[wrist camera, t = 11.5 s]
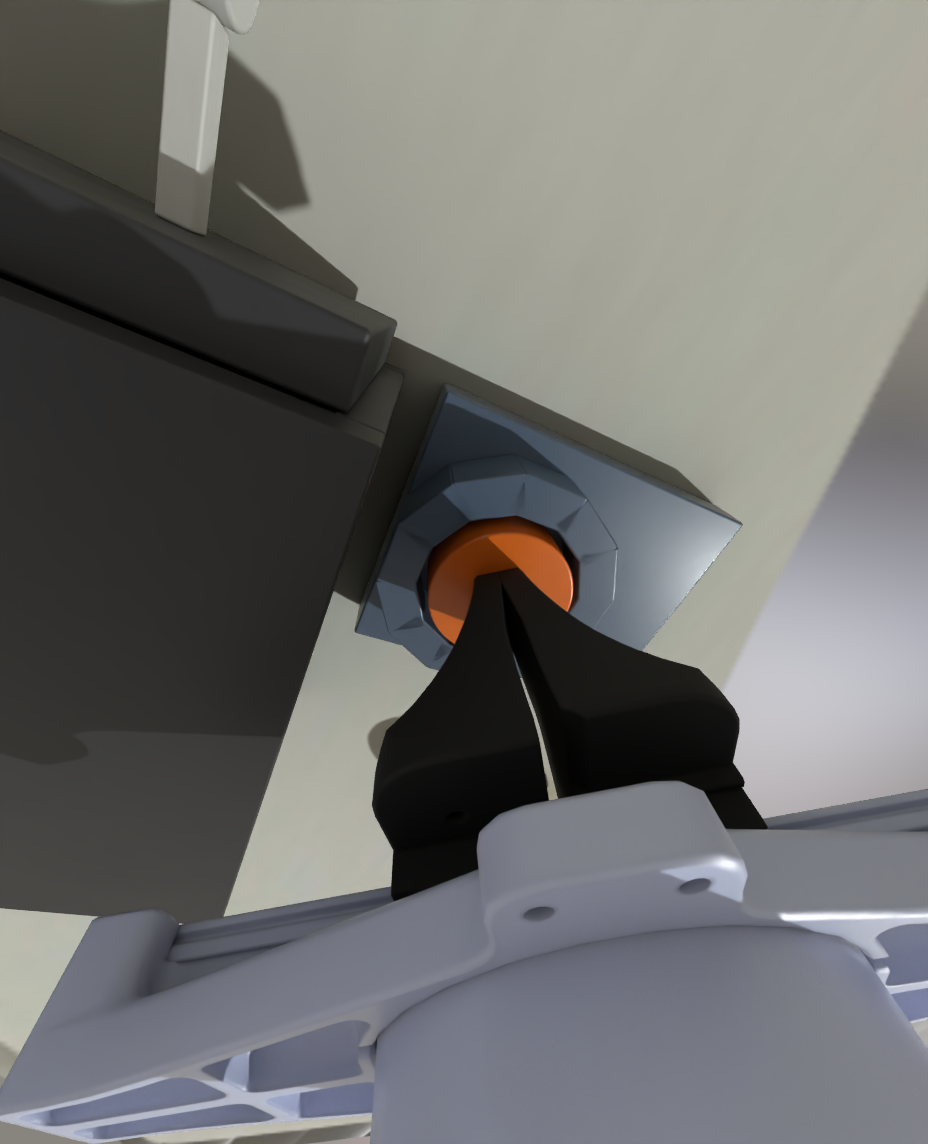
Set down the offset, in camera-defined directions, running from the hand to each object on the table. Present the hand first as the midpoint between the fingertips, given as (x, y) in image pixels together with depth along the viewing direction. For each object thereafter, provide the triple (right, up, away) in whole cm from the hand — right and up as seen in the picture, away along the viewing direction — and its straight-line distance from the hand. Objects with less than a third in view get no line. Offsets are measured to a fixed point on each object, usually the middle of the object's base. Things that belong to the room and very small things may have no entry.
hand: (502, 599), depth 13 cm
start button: (0, +1, +1) cm, 2 cm away
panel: (+2, +1, +4) cm, 4 cm away
